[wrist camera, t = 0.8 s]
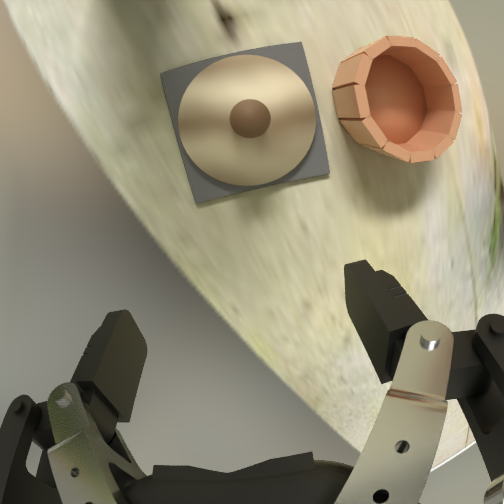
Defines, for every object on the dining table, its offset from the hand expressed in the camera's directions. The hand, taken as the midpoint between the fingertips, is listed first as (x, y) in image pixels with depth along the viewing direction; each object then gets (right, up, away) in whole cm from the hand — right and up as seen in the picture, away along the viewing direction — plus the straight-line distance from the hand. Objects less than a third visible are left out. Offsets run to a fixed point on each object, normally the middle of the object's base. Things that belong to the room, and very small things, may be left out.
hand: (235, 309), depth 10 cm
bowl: (+15, +18, +15) cm, 28 cm away
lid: (0, +15, +16) cm, 21 cm away
